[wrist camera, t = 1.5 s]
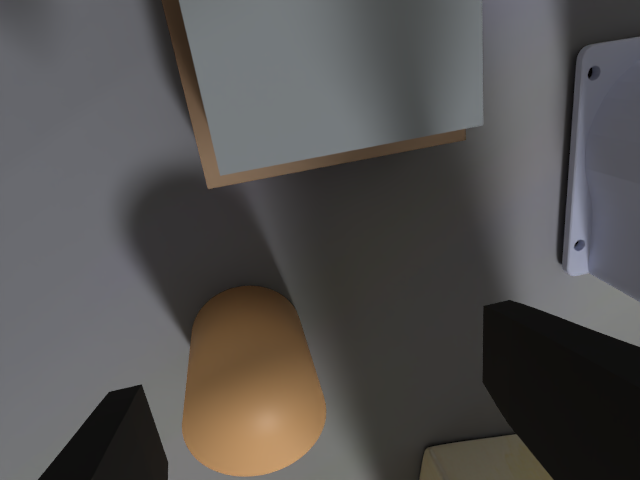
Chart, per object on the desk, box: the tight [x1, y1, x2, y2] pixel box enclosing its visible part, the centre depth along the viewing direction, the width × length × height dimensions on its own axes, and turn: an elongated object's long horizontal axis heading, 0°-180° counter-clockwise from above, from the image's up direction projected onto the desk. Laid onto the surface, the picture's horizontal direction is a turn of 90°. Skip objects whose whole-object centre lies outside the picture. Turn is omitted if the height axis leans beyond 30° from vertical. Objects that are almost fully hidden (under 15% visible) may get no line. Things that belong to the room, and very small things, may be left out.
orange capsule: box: [182, 286, 326, 476], centre depth 16 cm, size 4×4×5 cm
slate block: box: [179, 0, 483, 176], centre depth 11 cm, size 6×6×4 cm
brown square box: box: [161, 0, 466, 189], centre depth 14 cm, size 8×8×4 cm
